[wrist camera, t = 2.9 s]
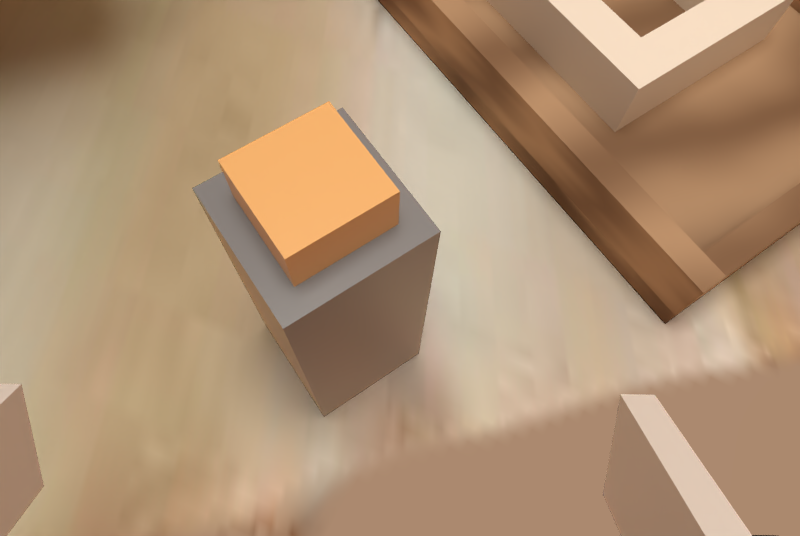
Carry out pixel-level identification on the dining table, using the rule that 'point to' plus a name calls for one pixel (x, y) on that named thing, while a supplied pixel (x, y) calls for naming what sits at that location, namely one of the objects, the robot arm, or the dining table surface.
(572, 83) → the socket
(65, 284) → the dining table surface
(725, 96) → the brown wooden tray
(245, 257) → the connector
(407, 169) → the dining table surface
